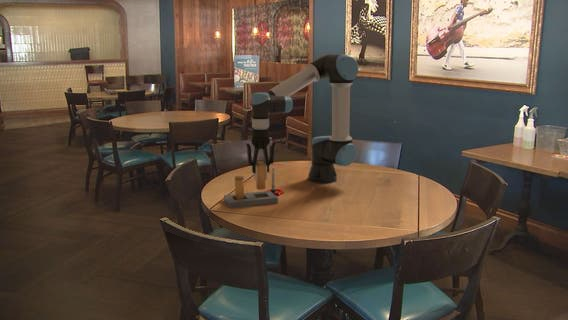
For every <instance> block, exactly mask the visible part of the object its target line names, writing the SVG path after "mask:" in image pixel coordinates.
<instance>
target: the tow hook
mask: <svg viewBox="0 0 568 320" xmlns="http://www.w3.org/2000/svg"><path fill="white" fill-rule="evenodd" d="M270 186H271V188H268V189H267V190H266V191H271V192H272V193H273V194H274V195H275V196H277V197H278V196H281V195H283V194H285V190H284V189H282V188H276V186H275V168H274V167H273V168H272V172H271V185H270Z"/></svg>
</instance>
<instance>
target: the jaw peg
mask: <svg viewBox="0 0 568 320" xmlns="http://www.w3.org/2000/svg"><path fill="white" fill-rule="evenodd" d="M265 165H266V164H265V161H257V162H256V166H257V167H258V181H256V180H255V183H256V185H255V187H256V190H266V180H265Z"/></svg>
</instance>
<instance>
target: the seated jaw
mask: <svg viewBox="0 0 568 320" xmlns="http://www.w3.org/2000/svg"><path fill="white" fill-rule="evenodd" d="M244 193H245V176H243V175H236V176H235V177H234V194H235V200H241V199H244Z"/></svg>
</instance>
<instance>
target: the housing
mask: <svg viewBox="0 0 568 320" xmlns="http://www.w3.org/2000/svg"><path fill="white" fill-rule="evenodd" d="M223 201H224V202H225V205H227V206H228V208H229V209H233V208H234V209H236V208H237V209H238V208H245V207H255V206H264V205H273V204H279V197H278V195H274V194H273V193H272V192H271V191H267V190H266V191H265V190H264V191H255V192H244V199H241V200H235V193H233V194H231V193H230V194H224V195H223Z"/></svg>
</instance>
